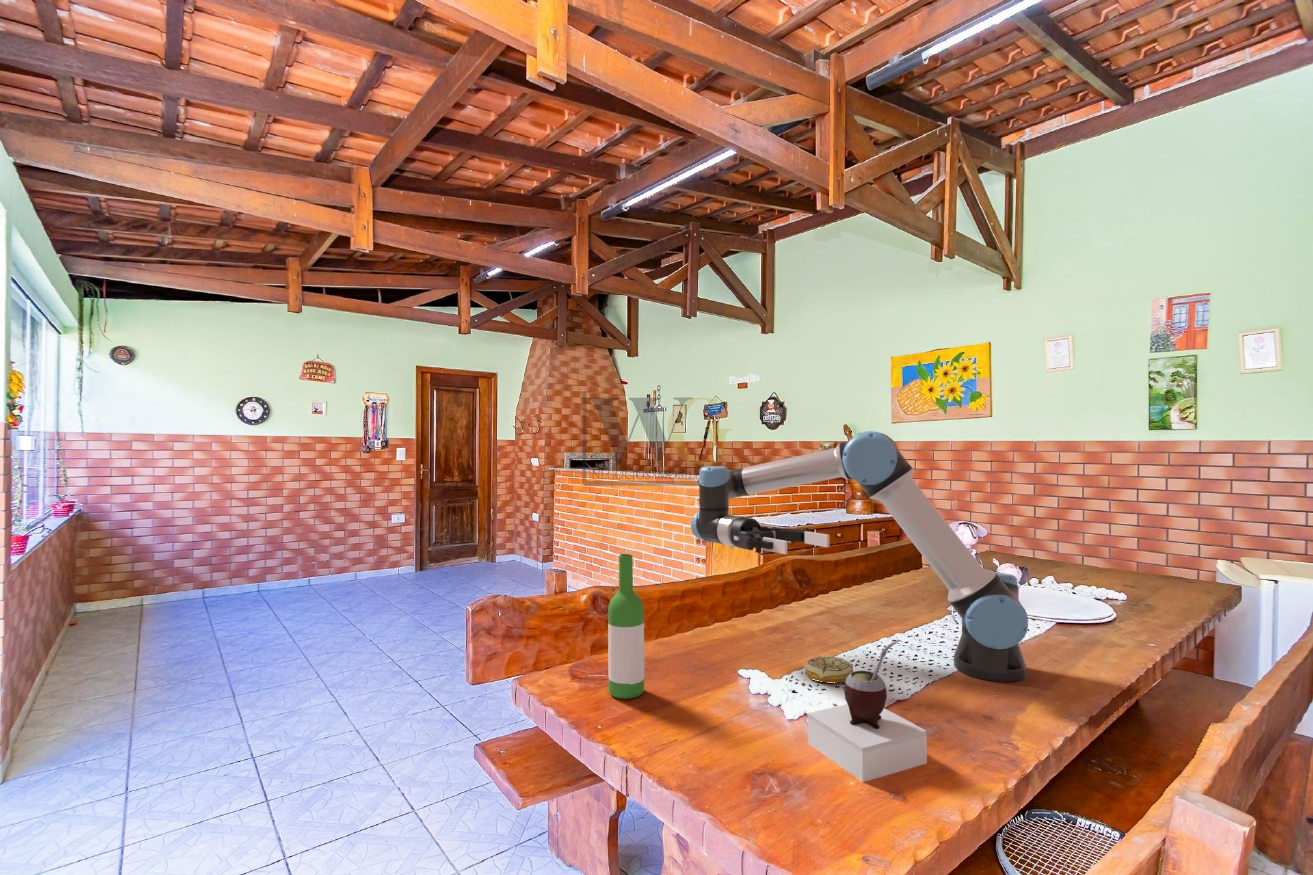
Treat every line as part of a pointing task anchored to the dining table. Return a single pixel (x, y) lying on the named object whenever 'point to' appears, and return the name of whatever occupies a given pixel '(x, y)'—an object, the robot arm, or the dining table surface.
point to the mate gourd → (866, 694)
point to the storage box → (867, 742)
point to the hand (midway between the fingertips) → (807, 544)
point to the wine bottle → (626, 636)
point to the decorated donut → (828, 669)
